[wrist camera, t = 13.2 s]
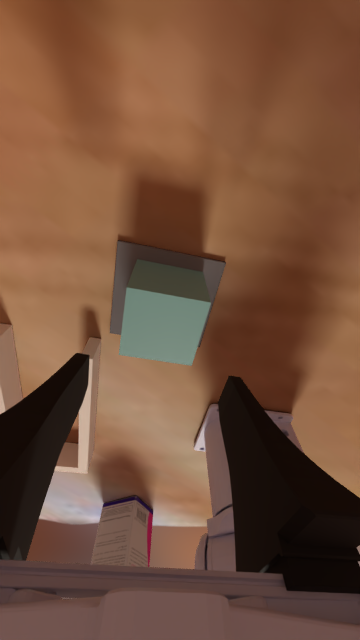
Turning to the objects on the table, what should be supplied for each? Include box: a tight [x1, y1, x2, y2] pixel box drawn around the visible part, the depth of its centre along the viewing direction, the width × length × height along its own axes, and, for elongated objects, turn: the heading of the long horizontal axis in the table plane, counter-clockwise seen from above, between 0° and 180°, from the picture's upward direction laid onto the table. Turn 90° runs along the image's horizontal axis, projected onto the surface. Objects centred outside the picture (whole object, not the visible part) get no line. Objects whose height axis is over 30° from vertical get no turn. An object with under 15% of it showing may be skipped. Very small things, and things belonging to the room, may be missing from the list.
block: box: [119, 259, 211, 366], centre depth 18 cm, size 5×5×5 cm
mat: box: [110, 240, 226, 347], centre depth 21 cm, size 8×8×1 cm
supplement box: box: [91, 496, 153, 567], centre depth 35 cm, size 6×6×11 cm
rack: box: [0, 323, 101, 474], centre depth 26 cm, size 8×17×3 cm, turn 168°
